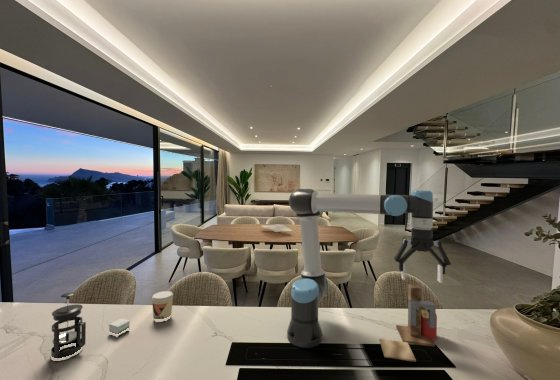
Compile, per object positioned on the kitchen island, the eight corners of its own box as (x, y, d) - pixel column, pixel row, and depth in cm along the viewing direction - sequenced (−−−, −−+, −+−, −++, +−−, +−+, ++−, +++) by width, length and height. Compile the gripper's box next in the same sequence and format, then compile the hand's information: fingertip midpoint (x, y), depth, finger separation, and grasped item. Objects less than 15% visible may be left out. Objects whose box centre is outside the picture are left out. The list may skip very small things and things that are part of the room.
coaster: (384, 357, 93) (384, 355, 93) (379, 340, 104) (379, 338, 104) (416, 361, 91) (416, 360, 91) (407, 343, 102) (407, 342, 102)
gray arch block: (410, 325, 98) (410, 302, 98) (408, 321, 101) (408, 299, 101) (435, 328, 96) (435, 305, 96) (432, 324, 99) (432, 301, 99)
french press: (41, 362, 89) (42, 299, 89) (64, 345, 98) (64, 288, 98) (73, 362, 89) (74, 299, 89) (93, 346, 98) (93, 289, 98)
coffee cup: (147, 323, 116) (147, 297, 116) (160, 313, 125) (160, 290, 125) (165, 325, 114) (165, 299, 114) (176, 315, 123) (176, 291, 123)
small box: (117, 338, 104) (117, 326, 104) (108, 335, 106) (108, 324, 106) (130, 331, 109) (130, 320, 109) (121, 328, 111) (121, 317, 111)
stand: (408, 355, 95) (409, 298, 95) (396, 327, 114) (396, 280, 114) (443, 360, 92) (443, 301, 92) (424, 330, 111) (424, 282, 112)
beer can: (439, 342, 103) (439, 314, 103) (422, 339, 105) (422, 312, 104) (433, 332, 109) (433, 306, 109) (416, 331, 111) (417, 304, 111)
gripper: (391, 228, 98) (390, 280, 98) (461, 231, 93) (460, 286, 93) (387, 225, 105) (386, 274, 105) (451, 228, 100) (451, 279, 100)
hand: (421, 280), depth 99 cm, fingers open, 13 cm apart
